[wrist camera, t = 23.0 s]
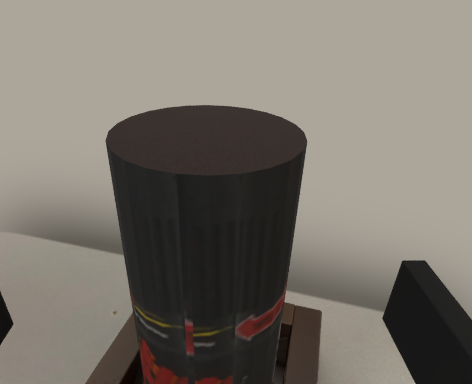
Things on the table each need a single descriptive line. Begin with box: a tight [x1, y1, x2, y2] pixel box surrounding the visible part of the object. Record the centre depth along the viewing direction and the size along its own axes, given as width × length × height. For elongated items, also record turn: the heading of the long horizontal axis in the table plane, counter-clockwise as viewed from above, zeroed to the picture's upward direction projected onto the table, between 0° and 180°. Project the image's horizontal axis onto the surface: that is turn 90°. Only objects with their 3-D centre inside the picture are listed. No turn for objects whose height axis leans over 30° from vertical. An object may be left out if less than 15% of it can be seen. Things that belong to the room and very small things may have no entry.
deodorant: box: [106, 105, 307, 384], centre depth 14 cm, size 6×6×15 cm
